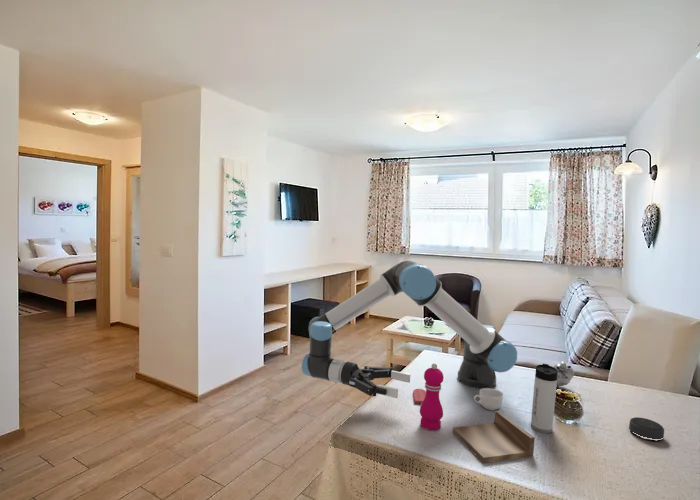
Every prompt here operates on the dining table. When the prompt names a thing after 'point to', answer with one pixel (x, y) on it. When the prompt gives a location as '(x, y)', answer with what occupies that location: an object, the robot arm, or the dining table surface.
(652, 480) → the dining table surface
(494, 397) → the teacup
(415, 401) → the popsicle
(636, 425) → the smart speaker
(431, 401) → the pepper mill
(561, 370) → the grey rounded lump
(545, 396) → the travel mug
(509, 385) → the dining table surface
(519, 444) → the spice board
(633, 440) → the dining table surface
